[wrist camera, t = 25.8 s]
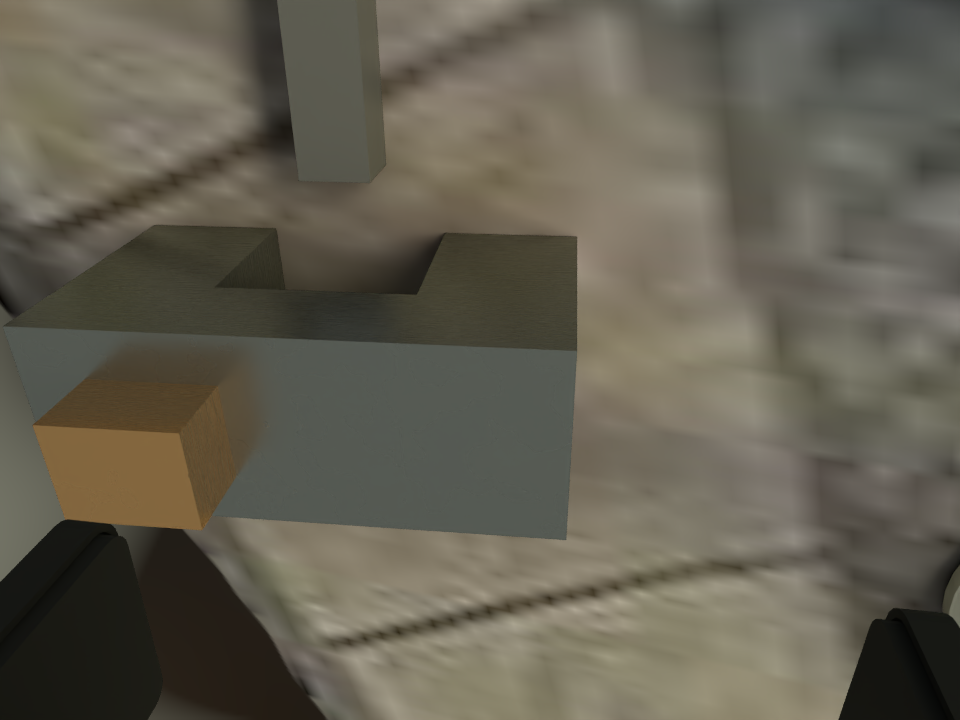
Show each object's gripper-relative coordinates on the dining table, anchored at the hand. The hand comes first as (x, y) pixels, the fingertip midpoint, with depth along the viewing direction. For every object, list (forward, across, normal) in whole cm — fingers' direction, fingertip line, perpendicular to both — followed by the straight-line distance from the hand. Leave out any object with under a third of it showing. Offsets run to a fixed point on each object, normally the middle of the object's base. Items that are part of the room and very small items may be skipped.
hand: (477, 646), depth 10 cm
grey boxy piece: (+26, +9, +7) cm, 29 cm away
